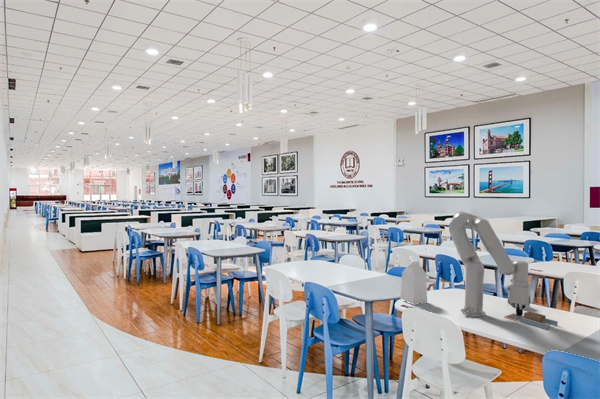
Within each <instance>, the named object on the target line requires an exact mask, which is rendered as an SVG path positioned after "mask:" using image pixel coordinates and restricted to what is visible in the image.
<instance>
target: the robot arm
mask: <svg viewBox="0 0 600 399" xmlns="http://www.w3.org/2000/svg"><path fill="white" fill-rule="evenodd" d="M448 228H449V234H450V237H451V239H452V242H453V244H454V246H455V248H456V251H457V254H458V256H459V258H460V259H461V262H462V264H463V266H464V268H465V279H464V280H465V282H464V284H465V285H464V286H465V287H464V288H465V289H464V290H465V291H464V307H463V308H461V309H460V312H461V313H462V314H463V315H466V316H470V317H477V318H478V317H479V318H483V317H485V316H486V312H485V311H484V310H483V309H484V308H483V307H484V306H483V305H484V279H485V278H484V276H485V267H484V266H485V265H484V264H483V262H482V261H481V259H480V258H479V255H478V254H477V252H476V249H475V247H474V244H473V243H472V242H471V240H470V238H469V236H468V234H467V232H466V228H467V229H469V230H472V231H475V232H476V234H477V236H478V238H479V240H480V241H481V243H482V245H483V247H484V248H485V250H486V251H487V252H488V253H489V254H490V256H491V257H492V259H493V261H494V262H495V265H496V268H497V269H498V271H499V272H500V273H501V274H502V275H505V276H512V279H510V283H511V284H510V286H509V287H510V290H509V302H510V303H511V304H513V305H514V306H515V307H514V308H515V314H516V315H517V316H524V309H525V308H530V307H531V305H530V304H531V292H530V291H531V290H530V286H528V285H529V264H528V262H527V261H524V260H511V258H510V256H509V255H508V253H507V251H506V250H505V248H504V246H503V244H502V242H501V240H500V239H499V236H498V235H497V234H496V232H495V230H494V229H493V226H492V225H491V223H490V222H489V221H488V220H487V219H485V218H484V217H480V216H477V215H473V214H471V213H467V212H465V211H460V210H459V211H456V212H455V213H454V214H453V216H452V219H451V220H450V223H449V227H448Z"/></svg>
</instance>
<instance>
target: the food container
mask: <svg viewBox="0 0 600 399" xmlns="http://www.w3.org/2000/svg"><path fill="white" fill-rule="evenodd" d="M506 290H507V304H508V305H509V306H511V307H512V308H515V306H514V305H513V304H511V303H510V302H509V290H510V286H507V288H506Z"/></svg>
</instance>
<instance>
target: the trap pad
mask: <svg viewBox="0 0 600 399" xmlns="http://www.w3.org/2000/svg"><path fill="white" fill-rule="evenodd" d="M520 317H522V318H524V315H522V316H517V315H516V313H514V312H513V313H511V314H508V315H505V316H503V318H504V319H508V320H510V321H511V320H512V321H515V322H520Z"/></svg>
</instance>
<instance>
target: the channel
mask: <svg viewBox="0 0 600 399" xmlns="http://www.w3.org/2000/svg"><path fill="white" fill-rule="evenodd" d="M558 322H559V321H557V320H554V319H552V318H551V319H550V318H547V317H546V320H545V324H544V323H540V322H537V321H533V320H529V319H526V318H522V317H520V321H519V323H522V324H525V325H529V326H533V327H536V328H540V329H544V330H547V331H548V330H549V329H550V326H551V325H552V326H554V327H558Z"/></svg>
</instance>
